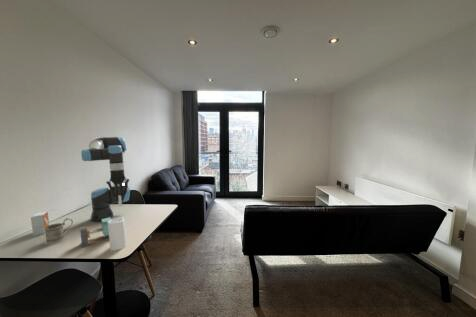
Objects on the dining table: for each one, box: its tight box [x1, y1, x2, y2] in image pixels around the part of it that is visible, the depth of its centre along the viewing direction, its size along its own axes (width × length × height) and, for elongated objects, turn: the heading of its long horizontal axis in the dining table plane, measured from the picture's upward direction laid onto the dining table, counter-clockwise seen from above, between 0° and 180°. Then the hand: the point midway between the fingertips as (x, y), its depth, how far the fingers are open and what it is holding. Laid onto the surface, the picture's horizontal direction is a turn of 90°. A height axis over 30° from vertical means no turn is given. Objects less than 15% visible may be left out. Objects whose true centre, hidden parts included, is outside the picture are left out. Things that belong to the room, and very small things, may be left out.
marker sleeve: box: [101, 217, 112, 237], centre depth 129 cm, size 7×5×9 cm
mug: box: [44, 217, 74, 246], centre depth 128 cm, size 14×10×12 cm
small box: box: [30, 211, 50, 237], centre depth 139 cm, size 8×6×13 cm
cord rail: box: [79, 226, 109, 248], centre depth 126 cm, size 7×19×10 cm, turn 130°
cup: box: [108, 217, 127, 251], centre depth 118 cm, size 8×8×16 cm
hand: (120, 205), depth 132 cm, fingers closed
